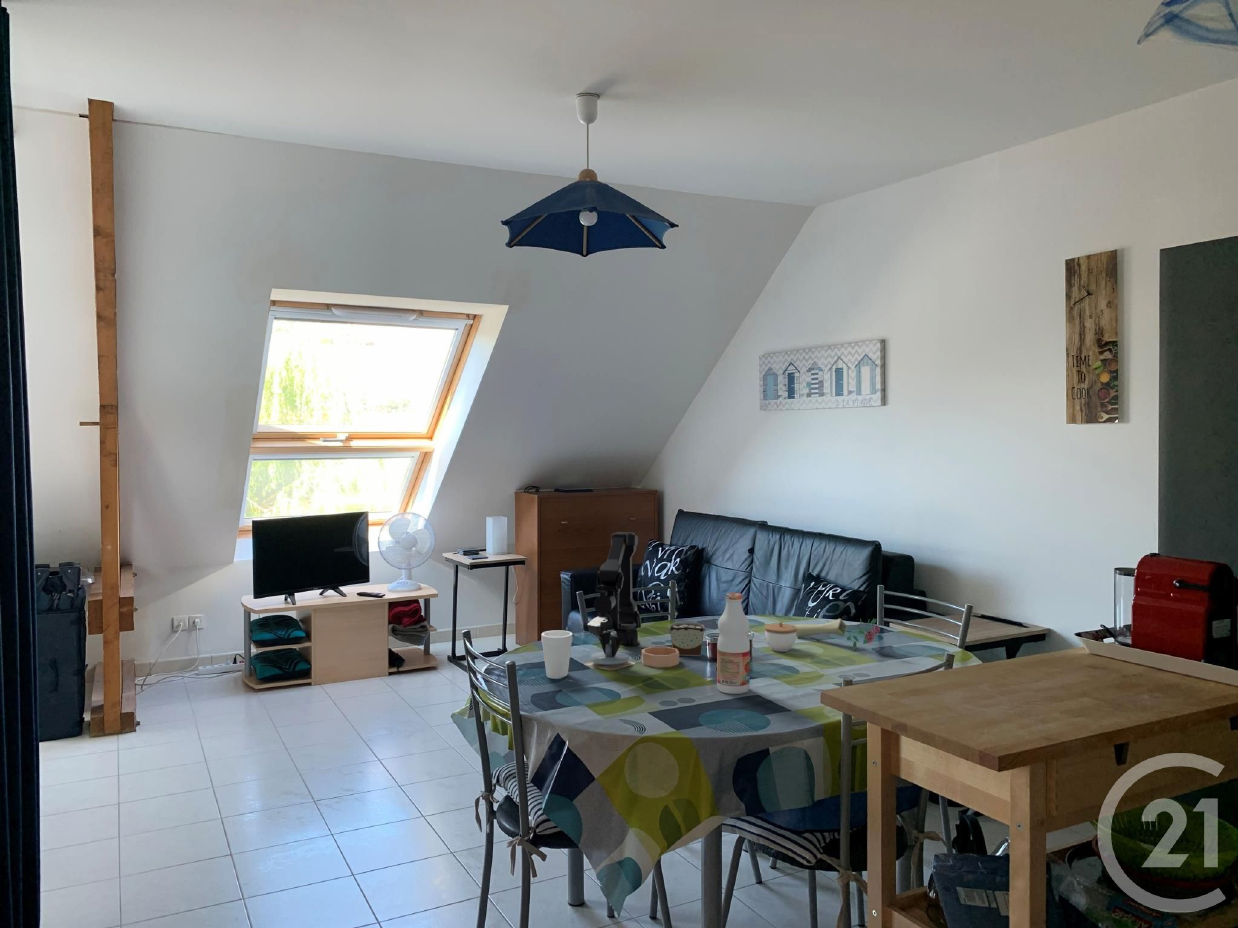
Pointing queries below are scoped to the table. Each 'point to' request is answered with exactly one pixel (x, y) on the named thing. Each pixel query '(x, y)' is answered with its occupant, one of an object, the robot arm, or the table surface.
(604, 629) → the robot arm
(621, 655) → the lid
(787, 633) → the lidded jar
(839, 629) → the flower vase
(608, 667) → the mat
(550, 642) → the foam cup
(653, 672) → the table surface
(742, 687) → the fruit juice
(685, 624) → the food container
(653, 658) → the bowl
